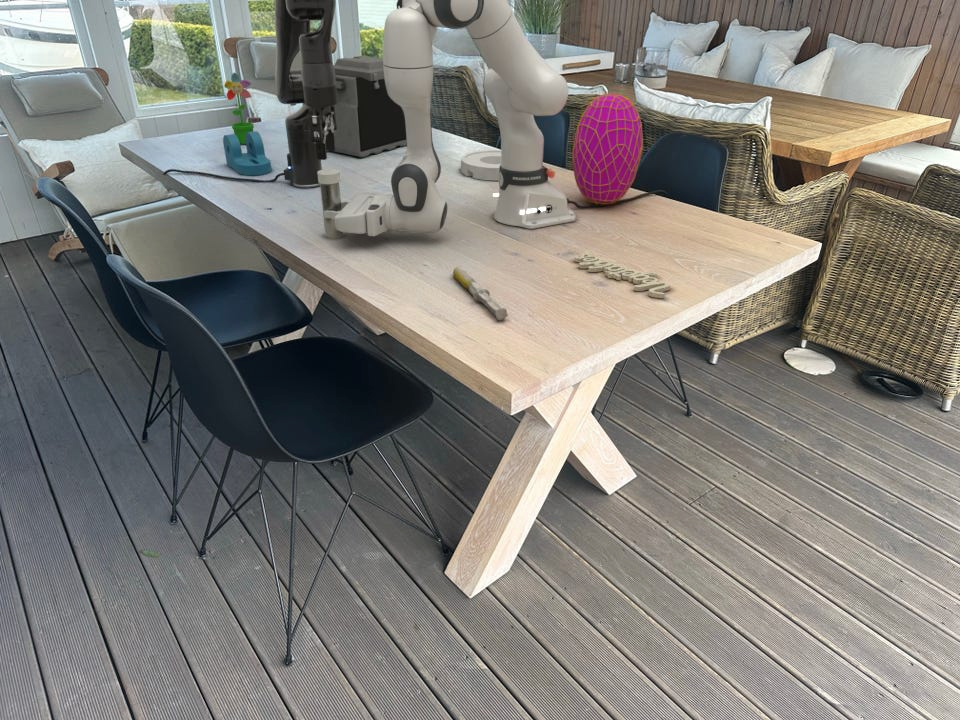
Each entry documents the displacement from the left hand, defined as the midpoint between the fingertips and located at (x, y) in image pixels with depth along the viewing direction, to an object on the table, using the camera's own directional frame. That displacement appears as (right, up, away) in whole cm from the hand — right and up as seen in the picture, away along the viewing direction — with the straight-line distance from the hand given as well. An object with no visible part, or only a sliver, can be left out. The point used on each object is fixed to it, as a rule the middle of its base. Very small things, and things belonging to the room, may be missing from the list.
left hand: (326, 155), depth 166 cm
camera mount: (-39, +14, +64) cm, 76 cm away
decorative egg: (+73, -3, +36) cm, 81 cm away
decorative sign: (+70, -30, -10) cm, 77 cm away
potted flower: (-52, +33, +95) cm, 113 cm away
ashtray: (+42, +14, +64) cm, 78 cm away
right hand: (-1, -12, +7) cm, 14 cm away
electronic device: (-4, +31, +93) cm, 98 cm away
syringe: (+37, -36, -21) cm, 55 cm away
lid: (0, -4, +2) cm, 4 cm away
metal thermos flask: (0, -18, +10) cm, 20 cm away
